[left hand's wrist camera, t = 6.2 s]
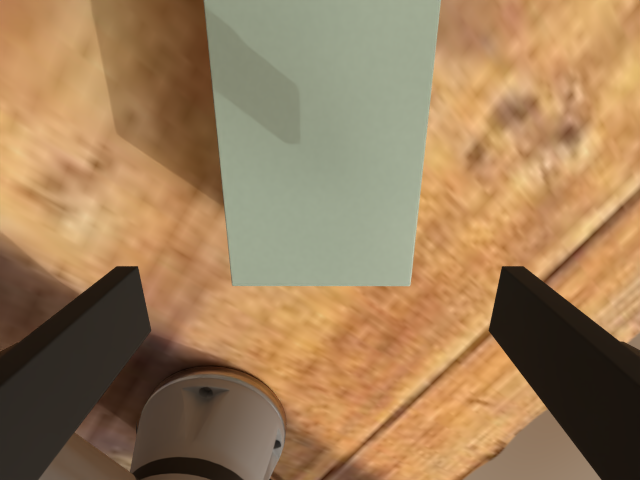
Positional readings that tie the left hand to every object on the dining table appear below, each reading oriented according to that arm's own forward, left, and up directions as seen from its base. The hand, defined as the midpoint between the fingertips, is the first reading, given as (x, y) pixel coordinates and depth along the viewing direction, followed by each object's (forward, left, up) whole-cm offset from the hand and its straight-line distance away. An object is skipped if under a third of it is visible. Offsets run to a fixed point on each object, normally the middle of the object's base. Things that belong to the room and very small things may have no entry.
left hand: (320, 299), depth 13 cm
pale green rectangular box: (+4, -4, -18) cm, 18 cm away
